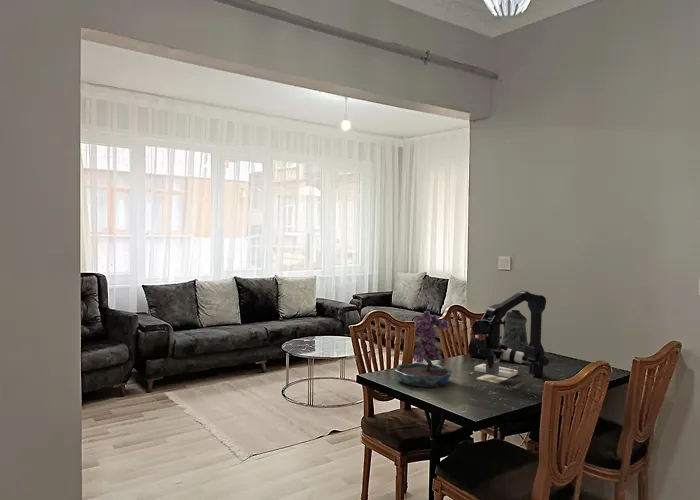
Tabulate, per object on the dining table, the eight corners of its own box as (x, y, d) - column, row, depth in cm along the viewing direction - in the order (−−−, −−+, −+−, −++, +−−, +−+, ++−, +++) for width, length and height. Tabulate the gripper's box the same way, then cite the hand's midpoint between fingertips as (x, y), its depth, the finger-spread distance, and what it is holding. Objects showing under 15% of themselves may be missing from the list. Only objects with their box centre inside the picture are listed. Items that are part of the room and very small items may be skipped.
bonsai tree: (433, 394, 225) (436, 317, 224) (380, 382, 241) (382, 310, 240) (469, 378, 252) (472, 309, 251) (419, 368, 269) (421, 303, 268)
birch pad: (508, 380, 249) (508, 378, 249) (497, 385, 241) (497, 383, 241) (486, 376, 257) (486, 374, 257) (475, 380, 248) (475, 378, 248)
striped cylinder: (529, 373, 282) (530, 358, 277) (468, 358, 299) (468, 343, 294) (534, 362, 289) (535, 347, 284) (474, 347, 306) (474, 333, 301)
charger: (498, 373, 249) (499, 358, 249) (494, 375, 246) (495, 360, 246) (490, 371, 252) (490, 357, 252) (485, 373, 249) (486, 358, 248)
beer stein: (519, 358, 298) (520, 313, 297) (489, 351, 313) (491, 309, 312) (535, 354, 308) (536, 311, 308) (506, 348, 323) (507, 307, 323)
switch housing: (517, 376, 258) (517, 368, 258) (509, 379, 251) (509, 371, 251) (483, 369, 270) (483, 362, 270) (474, 372, 263) (474, 365, 263)
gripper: (486, 329, 261) (485, 361, 261) (468, 334, 247) (467, 367, 247) (508, 332, 253) (507, 365, 254) (490, 337, 239) (489, 372, 240)
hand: (492, 367), depth 249 cm, fingers closed on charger, 4 cm apart
